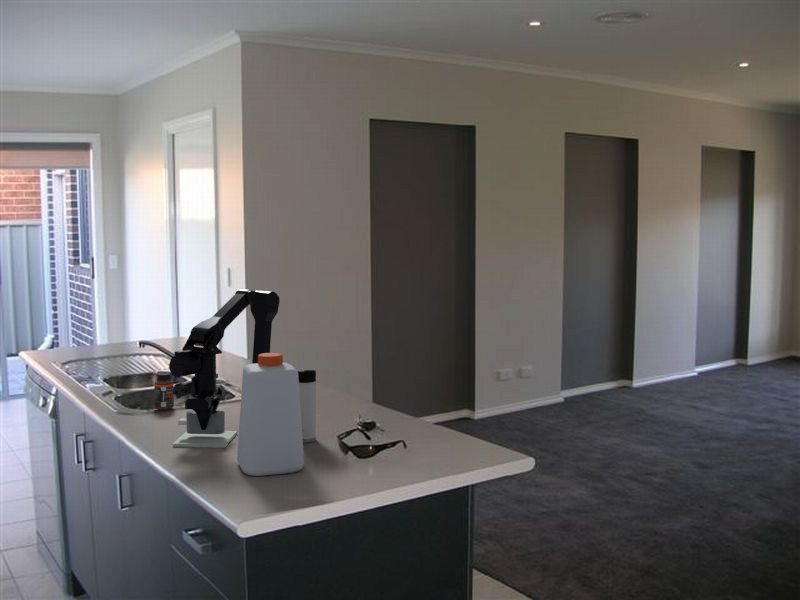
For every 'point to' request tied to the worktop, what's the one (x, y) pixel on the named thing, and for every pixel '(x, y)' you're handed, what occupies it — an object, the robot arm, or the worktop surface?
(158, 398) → the supplement bottle
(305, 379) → the travel mug
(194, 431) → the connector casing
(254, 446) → the plastic bottle
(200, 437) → the sage board
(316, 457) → the worktop surface
